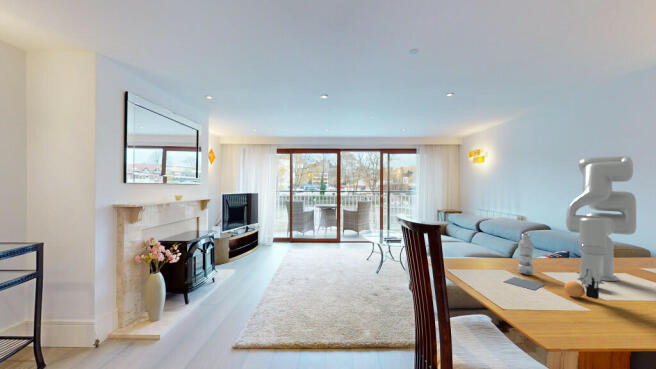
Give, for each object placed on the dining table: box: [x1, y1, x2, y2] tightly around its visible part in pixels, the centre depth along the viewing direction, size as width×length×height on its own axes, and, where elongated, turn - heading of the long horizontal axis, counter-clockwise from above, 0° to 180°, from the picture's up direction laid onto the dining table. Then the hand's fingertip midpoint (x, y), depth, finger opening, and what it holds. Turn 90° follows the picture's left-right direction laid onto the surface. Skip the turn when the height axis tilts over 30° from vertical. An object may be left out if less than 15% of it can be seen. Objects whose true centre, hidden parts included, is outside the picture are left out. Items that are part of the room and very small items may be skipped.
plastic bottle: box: [517, 233, 535, 276], centre depth 136 cm, size 6×7×20 cm
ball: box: [564, 281, 586, 298], centre depth 108 cm, size 6×6×6 cm
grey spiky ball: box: [576, 272, 605, 286], centre depth 120 cm, size 9×8×10 cm
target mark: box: [503, 276, 546, 291], centre depth 123 cm, size 12×12×1 cm
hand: (592, 297), depth 105 cm, fingers closed
